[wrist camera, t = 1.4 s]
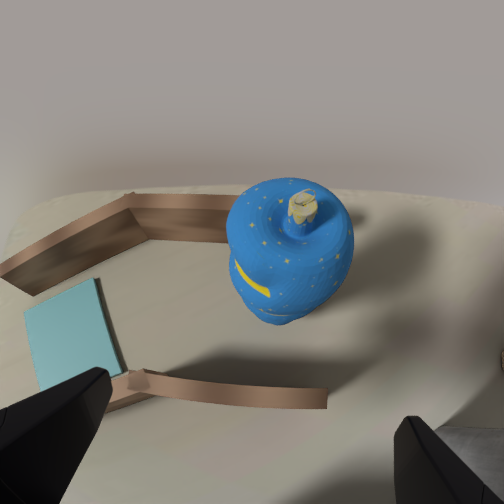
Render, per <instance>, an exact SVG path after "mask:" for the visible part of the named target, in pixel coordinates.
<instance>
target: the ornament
mask: <svg viewBox="0 0 504 504" xmlns="http://www.w3.org/2000/svg"><path fill="white" fill-rule="evenodd" d="M226 231H227V239H228V243H229V246H230V249H231V254H230V262H229V271H230V276H231V280H232V282H233V285H234V286H235V288H236V290H237V292H238V293H239V294H240V296H241V297H242V299H243V301H244V303H245V305H246V306H247V307H248V308H249V309H250V310H251V311H252V312H253V313H254V314H255V315H256V316H257V317H258V318H259V319H261V320H262V321H264V322H267V323H270V324H274V325H284V324H287V323H289V322H291V321H293V320H296V319H298V318H301V317H303V316H305V315H307V314H308V313H310V312H311V311H313V310H314V309H315V308H316V307H317V306H319V305H321V304H322V303H324V302H325V301H326V300H327V299H328V298H329V297H330V296H331V295H332V294H333V293H334V292H335V291H336V290H337V289H338V288H339V287H340V285H341V284H342V282H343V281H344V279H345V277H346V275H347V272H348V270H349V267H350V265H351V261H352V257H353V250H354V233H353V228H352V223H351V219H350V217H349V214H348V212H347V210H346V209H345V207H344V205H343V204H342V203H341V201H340V200H339V199H338V198H337V197H336V196H335V195H334V194H333V193H332V192H330V191H329V190H328V189H326V188H324V187H323V186H321V185H319V184H317V183H314V182H311V181H308V180H305V179H299V178H279V179H272V180H268V181H264V182H262V183H259V184H257V185H255V186H253V187H251V188H249V189H248V190H246V191H245V192H243V193H242V194H241V195H240V196H239V197H238V198H237V200H236V201H235V203H234V204H233V206H232V208H231V210H230V212H229V215H228V218H227V223H226Z"/></svg>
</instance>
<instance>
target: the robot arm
mask: <svg viewBox="0 0 504 504" xmlns="http://www.w3.org/2000/svg"><path fill="white" fill-rule="evenodd" d="M112 393H113V387H112V382H111V378H110V374H109V371H108V370H107V369H104V368H101V367H98V366H96V367H93V368H91V369H89V370H87V371H85V372H83V373H80V374H78V375H76V376H74V377H72V378H70V379H68V380H65V381H63V382H61V383H59V384H57V385H55V386H52V387H50V388H48V389H46V390H44V391H41V392H39V393H37V394H35V395H33V396H30V397H28V398H26V399H24V400H21V401H19V402H17V403H15V404H12V405H10V406H8V408H7V407H5V408H3V409H1V410H0V504H59V503H60V501H61V499H62V497H63V495H64V493H65V491H66V489H67V487H68V485H69V484H70V482H71V480H72V478H73V476H74V474H75V472H76V470H77V468H78V466H79V464H80V462H81V461H82V459H83V457H84V455H85V453H86V451H87V449H88V448H89V446H90V444H91V442H92V440H93V438H94V436H95V434H96V433H97V430H98V428H99V426H100V423H101V421H102V418H103V416H104V413H105V411H106V408H107V406H108V403H109V401H110V399H111V396H112ZM394 484H395V495H396V504H504V501H503V500H501V499H500V498H499V497H498V496H497V495H496V494H495V493H494V492H493V491H492V490H491V489H490V488H489V487H488V486H487V485H486V484H484V482H483V481H482V480H481V479H480V478H479V477H478V476H477V475H476V474H475V473H474V472H473V471H472V470H471V469H470V468H469V467H468V466H467V465H466V464H465V463H464V462H463V461H462V460H461V459H460V457H459V456H458V455H457V454H456V453H455V452H454V451H453V450H452V449H451V448H450V447H449V446H448V445H447V444H446V443H445V442H444V441H443V440H442V439H441V438H440V437H439V436H438V435H437V434H436V433H435V432H434V431H433V430H432V429H431V428H430V427H429V426H428V425H427V424H426V423H425V422H424V421H423V420H422V419H421V418H420V417H419V416H406V417H405V418H404V419H403V421H402V422H401V424H400V426H399V427H398V429H397V430H396V432H395V435H394Z"/></svg>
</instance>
